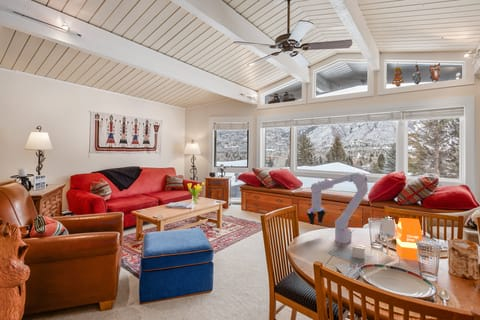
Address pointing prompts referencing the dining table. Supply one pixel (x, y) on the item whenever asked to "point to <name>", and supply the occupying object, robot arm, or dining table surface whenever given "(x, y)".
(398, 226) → the orange juice
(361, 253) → the white piece
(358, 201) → the robot arm
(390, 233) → the wineglass
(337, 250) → the shaft base
